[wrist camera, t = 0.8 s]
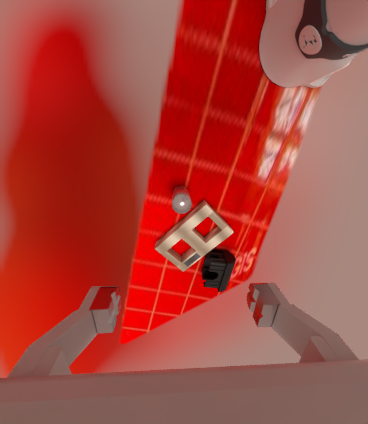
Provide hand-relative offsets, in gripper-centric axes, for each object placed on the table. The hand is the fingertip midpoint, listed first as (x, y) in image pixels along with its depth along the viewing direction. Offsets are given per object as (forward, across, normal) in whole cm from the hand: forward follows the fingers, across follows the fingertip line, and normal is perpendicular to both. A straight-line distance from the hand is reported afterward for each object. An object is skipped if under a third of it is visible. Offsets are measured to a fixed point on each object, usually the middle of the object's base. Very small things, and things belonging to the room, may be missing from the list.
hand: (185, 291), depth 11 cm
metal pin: (+34, -1, +4) cm, 34 cm away
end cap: (+35, -12, +25) cm, 45 cm away
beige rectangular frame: (+34, -5, +16) cm, 38 cm away
